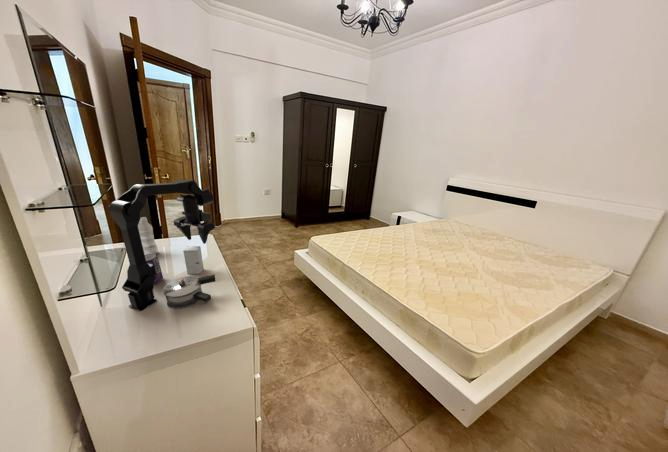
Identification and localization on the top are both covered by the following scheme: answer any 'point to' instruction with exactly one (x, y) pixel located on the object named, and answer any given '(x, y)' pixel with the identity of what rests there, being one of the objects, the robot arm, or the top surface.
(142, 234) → the plastic bottle
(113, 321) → the top surface
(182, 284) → the lid
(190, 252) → the skincare box
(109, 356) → the top surface
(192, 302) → the pot
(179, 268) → the top surface
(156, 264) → the beverage can
